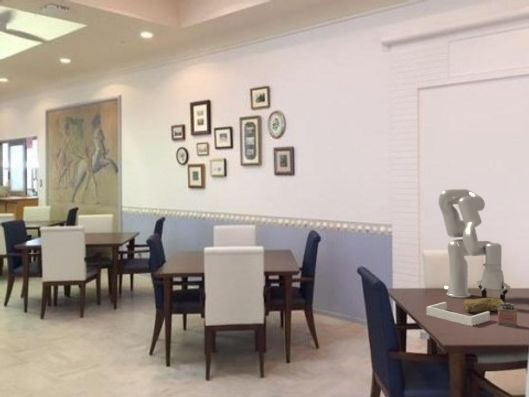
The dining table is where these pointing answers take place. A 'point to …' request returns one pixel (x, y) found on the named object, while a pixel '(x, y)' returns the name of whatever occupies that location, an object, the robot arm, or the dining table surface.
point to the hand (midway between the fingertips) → (493, 300)
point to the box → (456, 315)
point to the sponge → (482, 304)
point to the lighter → (507, 315)
